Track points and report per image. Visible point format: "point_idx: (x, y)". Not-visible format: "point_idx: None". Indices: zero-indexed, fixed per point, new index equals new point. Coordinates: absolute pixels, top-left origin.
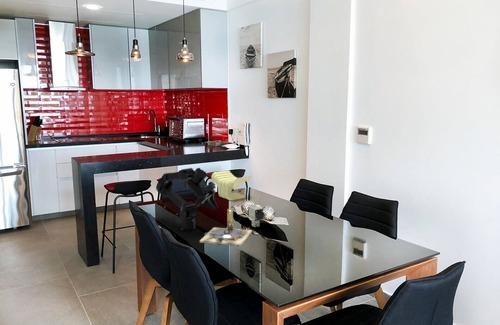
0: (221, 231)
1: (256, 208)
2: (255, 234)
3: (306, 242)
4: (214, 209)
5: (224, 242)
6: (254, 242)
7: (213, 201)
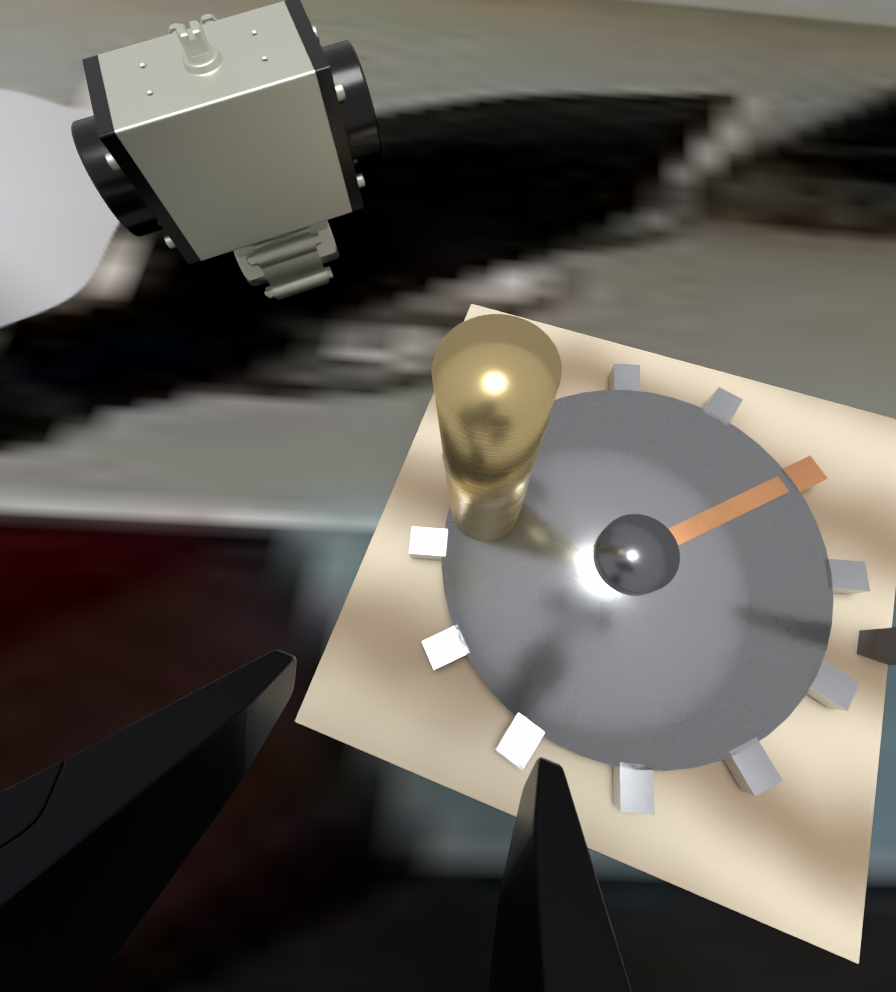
0: (567, 622)
1: (248, 53)
2: (547, 292)
3: (749, 4)
4: (555, 782)
5: (891, 603)
6: (778, 316)
7: (91, 869)
